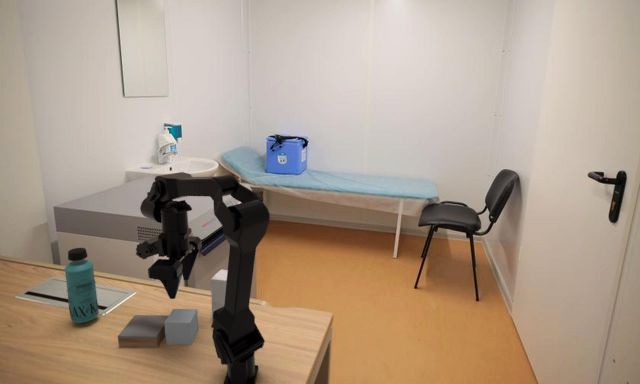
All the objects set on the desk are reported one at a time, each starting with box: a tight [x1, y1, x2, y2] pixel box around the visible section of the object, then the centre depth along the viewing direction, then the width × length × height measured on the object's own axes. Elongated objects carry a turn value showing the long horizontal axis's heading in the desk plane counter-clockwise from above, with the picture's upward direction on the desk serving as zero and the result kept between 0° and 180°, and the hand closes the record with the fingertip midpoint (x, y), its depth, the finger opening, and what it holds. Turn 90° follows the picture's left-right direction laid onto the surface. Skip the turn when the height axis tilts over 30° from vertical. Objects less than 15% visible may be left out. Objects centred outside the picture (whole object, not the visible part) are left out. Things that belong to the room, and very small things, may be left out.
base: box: [117, 314, 169, 349], centre depth 97 cm, size 9×9×3 cm
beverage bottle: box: [64, 247, 100, 324], centre depth 101 cm, size 6×7×20 cm
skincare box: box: [210, 269, 228, 320], centre depth 106 cm, size 6×4×12 cm
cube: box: [164, 308, 199, 346], centre depth 97 cm, size 6×6×6 cm
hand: (179, 288), depth 95 cm, fingers open, 9 cm apart
